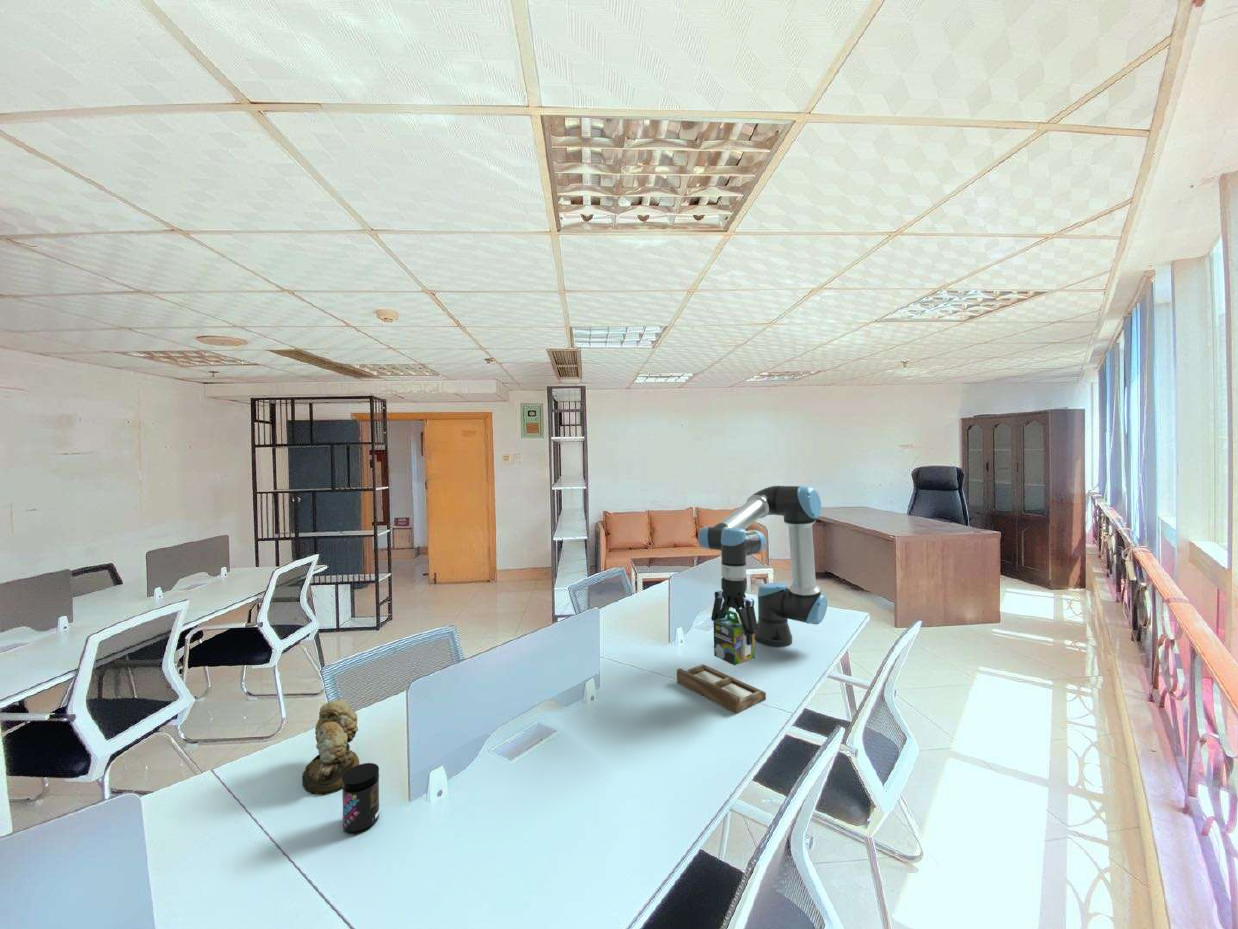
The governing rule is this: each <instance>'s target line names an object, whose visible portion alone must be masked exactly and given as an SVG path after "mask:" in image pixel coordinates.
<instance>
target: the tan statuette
mask: <svg viewBox="0 0 1238 929" xmlns="http://www.w3.org/2000/svg"><path fill="white" fill-rule="evenodd" d="M318 714H319V716H318V718H319V719H318V720H317V722H316V723H315V728H314V729H315V733H314V734H315V740H316V745H315V748H316V749H317V750H318V755H316V756H315V757H314V758H313V759H312V760H311V761H310V762H309V763H308V764H307V765H306V766H305V768H304V771H303V773H302V776H301V783H302V786H303V788H304V790H305V791H306V792H308V793H309V794H312V795H320V796H326V795H329V794H333V793H335V792H336V793H337V792H339V791H342V777H343V775H344V773H345V772H347V771H348V770H349V769H351V768H353V767H355V766H357V765H360V759H359V756H358V755H357V753H355V752H354V751H353V750H350V748H351V746H350V743H351V742H352V741H353V740H354V738H355V737H356V734H357V733H358V731H359V727H358V713H356V711H355V710H353V709H352V705H350V703H349V702H348V701H346V700H343V699H335V700H332V701H328V702H326V703H324V704H323V705H322V706H321V707H320V710H319V713H318Z"/></svg>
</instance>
